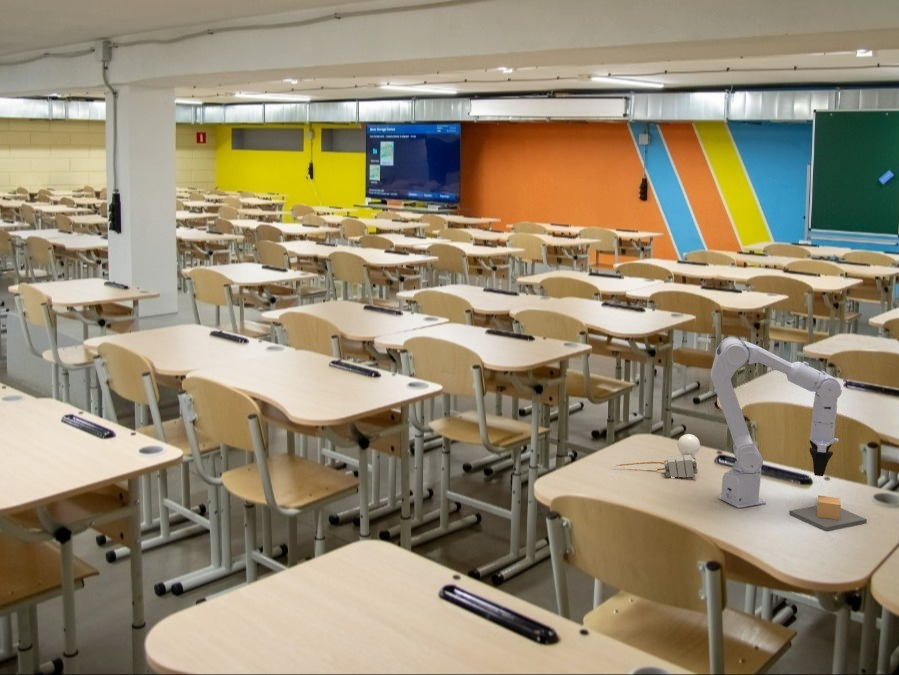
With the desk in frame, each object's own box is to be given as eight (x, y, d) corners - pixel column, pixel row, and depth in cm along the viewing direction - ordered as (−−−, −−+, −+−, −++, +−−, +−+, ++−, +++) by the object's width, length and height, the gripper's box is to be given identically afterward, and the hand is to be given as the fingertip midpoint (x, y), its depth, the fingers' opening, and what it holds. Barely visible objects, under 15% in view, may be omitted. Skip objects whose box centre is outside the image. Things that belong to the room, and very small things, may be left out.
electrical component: (613, 485, 268) (611, 468, 267) (613, 478, 274) (611, 462, 273) (698, 476, 263) (696, 459, 262) (697, 469, 269) (694, 453, 268)
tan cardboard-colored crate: (839, 519, 233) (840, 504, 232) (817, 516, 235) (818, 501, 234) (838, 512, 238) (839, 498, 237) (816, 510, 239) (817, 495, 239)
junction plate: (825, 531, 228) (827, 517, 227) (789, 514, 239) (790, 501, 238) (866, 522, 234) (867, 509, 233) (829, 506, 245) (830, 494, 244)
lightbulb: (700, 474, 269) (703, 437, 266) (678, 473, 269) (681, 437, 267) (695, 467, 275) (697, 431, 273) (673, 466, 275) (676, 431, 273)
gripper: (841, 430, 232) (835, 481, 235) (839, 416, 246) (834, 465, 248) (811, 426, 235) (806, 477, 237) (810, 413, 248) (806, 461, 251)
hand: (818, 471), depth 243 cm, fingers open, 7 cm apart
